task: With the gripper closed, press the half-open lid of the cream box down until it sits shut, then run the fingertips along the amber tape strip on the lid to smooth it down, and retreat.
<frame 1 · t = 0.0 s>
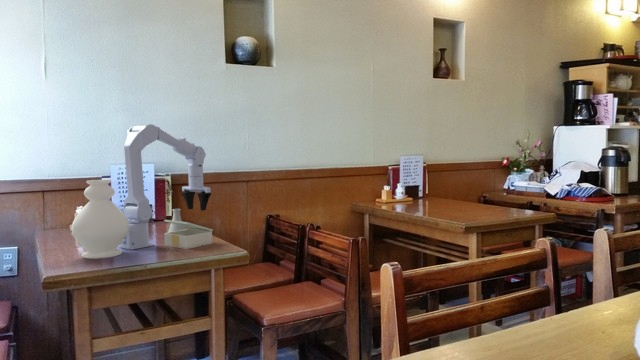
hand: (196, 209, 210), 10 cm above the table, tool pointing down, fingers open, 7 cm apart
parcel box: (188, 244, 191), on the table
box lid: (188, 225, 190), point 7 cm above the table, hinge at 20.0°
decorative vase: (102, 255, 175), on the table
flask: (177, 233, 215), on the table
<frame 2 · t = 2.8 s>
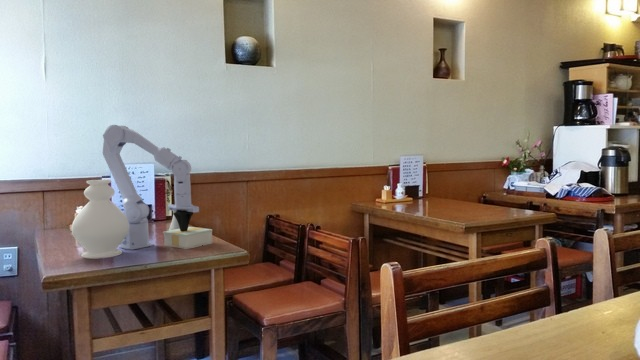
hand: (183, 231, 189), 5 cm above the table, tool pointing down, fingers closed, pressing on box lid
box lid: (187, 231, 190), point 5 cm above the table, hinge at -0.6°, touching gripper, parcel box
everything else where it was.
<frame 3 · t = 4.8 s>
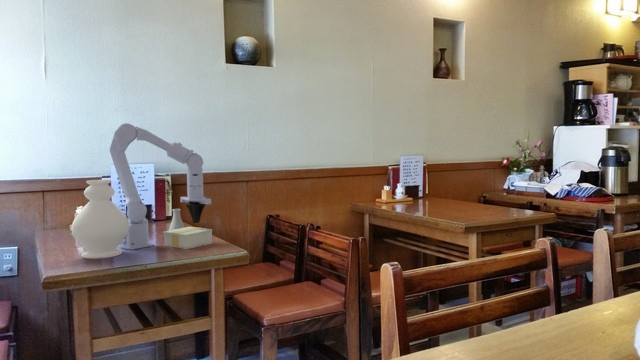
hand: (196, 222, 193), 8 cm above the table, tool pointing down, fingers closed
box lid: (187, 231, 190), point 5 cm above the table, hinge at -0.6°, touching parcel box
everything else where it was.
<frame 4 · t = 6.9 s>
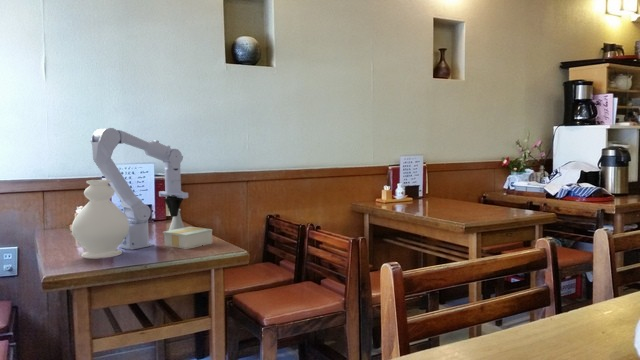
hand: (174, 216, 197), 9 cm above the table, tool pointing down, fingers closed
nothing on the table moved.
at the end: box lid at -1° (first picture: +20°) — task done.
